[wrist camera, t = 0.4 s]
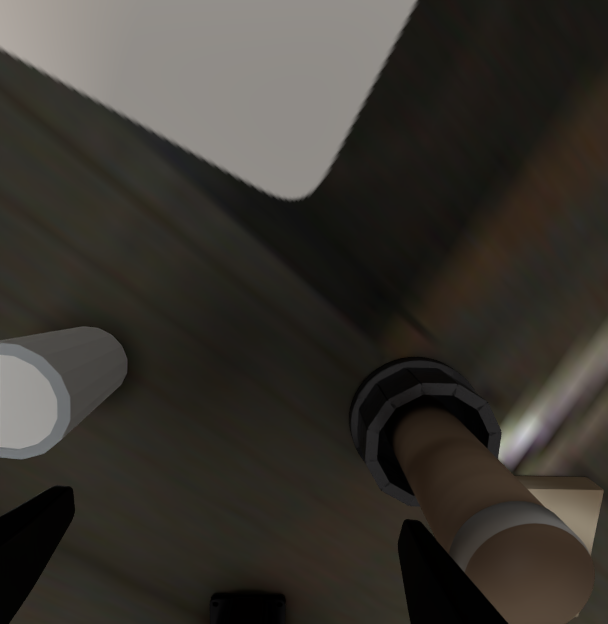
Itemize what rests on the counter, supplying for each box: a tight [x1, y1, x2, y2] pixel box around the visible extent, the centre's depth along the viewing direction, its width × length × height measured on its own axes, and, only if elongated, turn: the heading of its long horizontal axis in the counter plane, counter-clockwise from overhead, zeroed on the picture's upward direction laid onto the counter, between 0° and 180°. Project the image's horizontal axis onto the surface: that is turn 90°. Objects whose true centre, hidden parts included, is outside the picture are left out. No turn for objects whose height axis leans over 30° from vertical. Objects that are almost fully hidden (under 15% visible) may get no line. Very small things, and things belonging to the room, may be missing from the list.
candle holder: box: [349, 357, 502, 506], centre depth 23 cm, size 10×10×4 cm
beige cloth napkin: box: [515, 476, 604, 617], centre depth 26 cm, size 12×12×2 cm
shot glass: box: [0, 326, 128, 459], centre depth 20 cm, size 7×7×7 cm
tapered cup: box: [384, 395, 595, 624], centre depth 18 cm, size 5×5×12 cm
